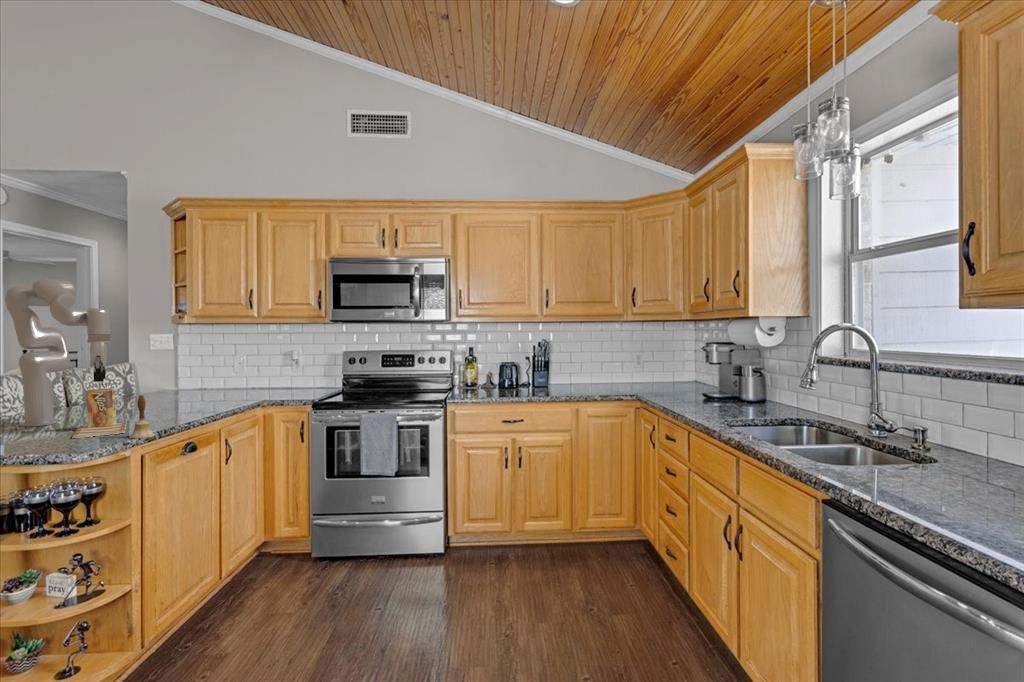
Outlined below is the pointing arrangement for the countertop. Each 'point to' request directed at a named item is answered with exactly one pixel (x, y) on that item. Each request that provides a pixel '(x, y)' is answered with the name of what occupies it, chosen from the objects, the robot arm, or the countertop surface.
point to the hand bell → (142, 422)
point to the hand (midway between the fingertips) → (99, 380)
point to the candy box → (101, 407)
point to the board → (100, 430)
